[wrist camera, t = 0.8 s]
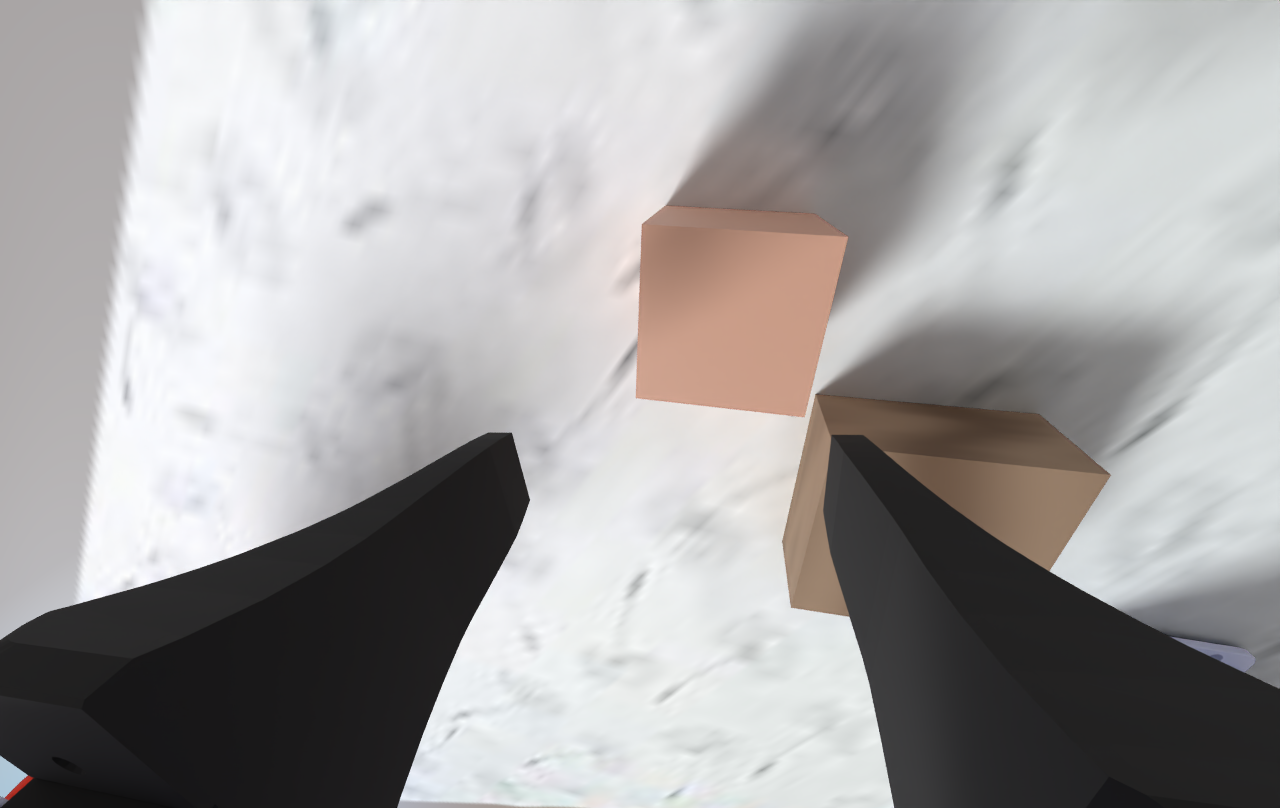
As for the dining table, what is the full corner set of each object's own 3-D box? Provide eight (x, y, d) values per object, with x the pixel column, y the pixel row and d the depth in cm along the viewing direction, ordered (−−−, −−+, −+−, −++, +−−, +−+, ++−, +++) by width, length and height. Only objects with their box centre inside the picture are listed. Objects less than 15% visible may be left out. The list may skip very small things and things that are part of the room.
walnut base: (1035, 410, 17) (1110, 475, 14) (959, 560, 21) (1004, 640, 18) (814, 391, 18) (833, 446, 15) (781, 537, 22) (791, 607, 19)
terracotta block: (814, 213, 15) (848, 236, 11) (786, 352, 18) (804, 417, 13) (665, 205, 16) (641, 224, 12) (658, 340, 18) (635, 397, 14)
